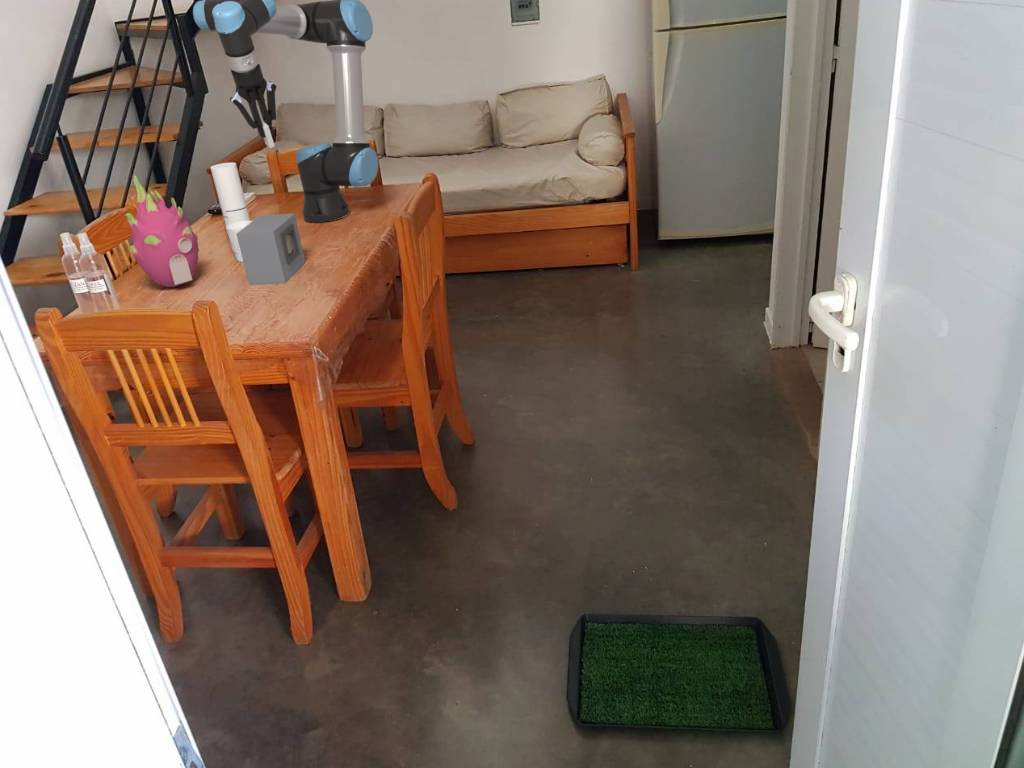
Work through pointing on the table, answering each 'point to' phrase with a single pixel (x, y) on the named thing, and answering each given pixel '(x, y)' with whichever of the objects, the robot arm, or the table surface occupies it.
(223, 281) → the table surface
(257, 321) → the table surface
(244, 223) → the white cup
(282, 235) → the housing
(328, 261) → the table surface
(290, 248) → the peg
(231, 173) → the cylindrical container
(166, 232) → the pink dragon fruit
